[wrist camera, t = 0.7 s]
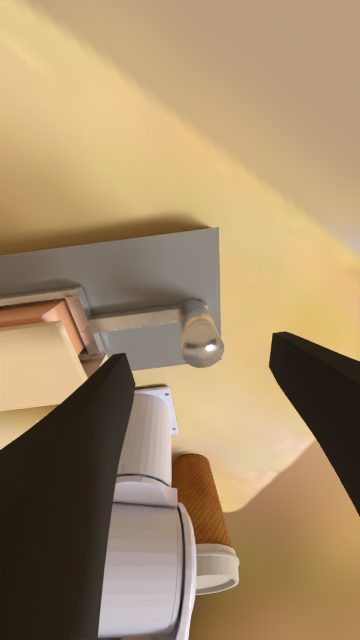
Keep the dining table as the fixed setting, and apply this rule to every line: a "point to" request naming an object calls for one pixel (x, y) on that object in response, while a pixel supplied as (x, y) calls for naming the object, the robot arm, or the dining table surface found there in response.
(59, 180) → the dining table surface
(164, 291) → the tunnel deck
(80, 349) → the terracotta block
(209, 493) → the disposable coffee cup
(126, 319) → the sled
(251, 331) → the dining table surface
